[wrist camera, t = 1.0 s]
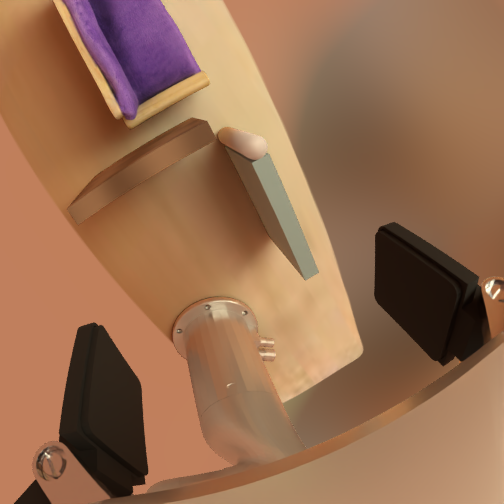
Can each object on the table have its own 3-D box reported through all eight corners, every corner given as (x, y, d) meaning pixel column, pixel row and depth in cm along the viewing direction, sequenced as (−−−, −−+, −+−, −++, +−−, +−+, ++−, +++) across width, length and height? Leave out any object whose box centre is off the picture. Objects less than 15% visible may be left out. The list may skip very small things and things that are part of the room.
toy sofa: (204, 88, 30) (221, 80, 22) (134, 127, 30) (123, 134, 21) (128, -46, 20) (121, -89, 11) (60, -9, 19) (31, -41, 11)
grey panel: (231, 123, 32) (261, 131, 23) (281, 230, 40) (320, 271, 31) (215, 132, 32) (238, 142, 23) (268, 237, 40) (303, 281, 31)
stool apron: (191, 117, 31) (207, 121, 21) (198, 129, 32) (216, 139, 22) (95, 176, 31) (66, 209, 21) (102, 187, 32) (77, 225, 21)
